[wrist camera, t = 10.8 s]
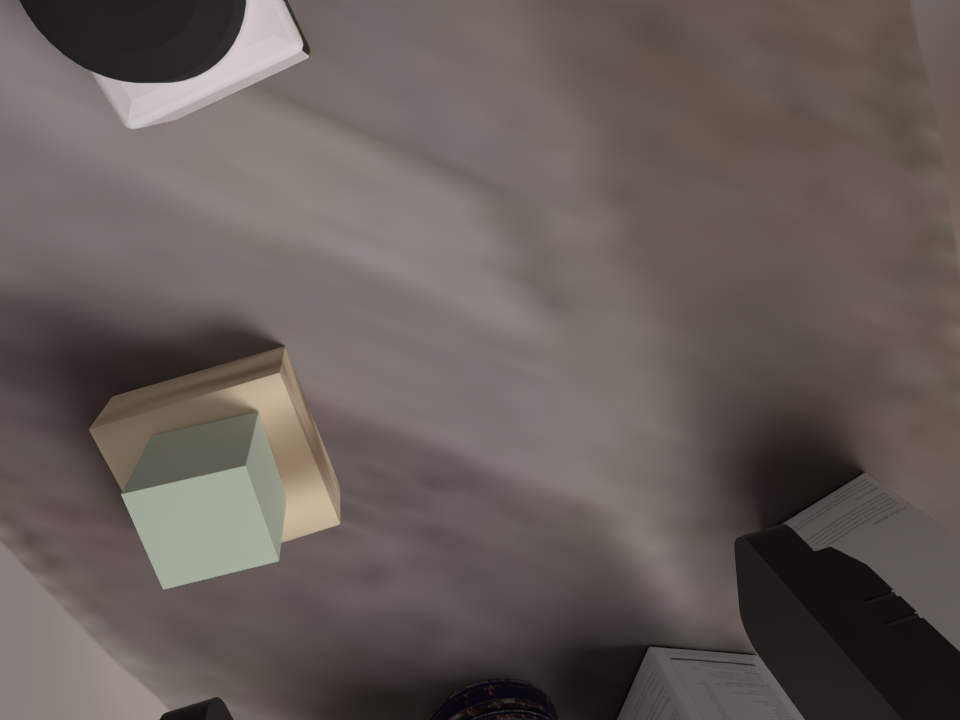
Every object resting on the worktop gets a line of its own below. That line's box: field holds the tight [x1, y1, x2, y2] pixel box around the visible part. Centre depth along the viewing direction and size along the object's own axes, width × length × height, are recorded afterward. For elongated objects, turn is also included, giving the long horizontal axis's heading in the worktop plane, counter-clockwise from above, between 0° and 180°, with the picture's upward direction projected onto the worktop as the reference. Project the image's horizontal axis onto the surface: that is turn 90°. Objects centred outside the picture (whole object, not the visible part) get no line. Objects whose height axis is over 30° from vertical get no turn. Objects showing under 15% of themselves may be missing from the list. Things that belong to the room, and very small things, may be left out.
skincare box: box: [782, 473, 960, 651], centre depth 41 cm, size 8×7×16 cm
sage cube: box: [121, 412, 287, 589], centre depth 32 cm, size 5×5×5 cm
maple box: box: [89, 346, 340, 543], centre depth 36 cm, size 9×9×4 cm
